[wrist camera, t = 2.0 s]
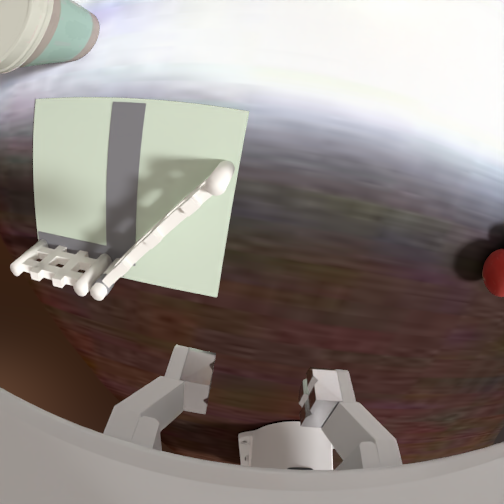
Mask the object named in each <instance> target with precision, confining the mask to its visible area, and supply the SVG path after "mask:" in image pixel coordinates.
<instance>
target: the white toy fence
mask: <svg viewBox="0 0 504 504" xmlns="http://www.w3.org/2000/svg"><path fill="white" fill-rule="evenodd" d="M234 171H235V167H234V165H233V163H232V162H230V161H226V160H225V161H222V162H220V163H219V165H218V166H217V167H216V168H215V170H214V171H213V172H212V173H211V175H210V176H209V177H208V178H207V179H205V180H204V181H203V182H202V183H201V184H199V185H198V186H197V187H196V188H195V189H194V190H193V191H192V192H191V193H190V194H189V195H188V196H186V197H185V198H184V199H183V200H182V201H181V202H180V203H179V204H177V205H176V206H175V207H174V208H172V209H171V210H170V211H169V212H168V213H167V214H166V215H165V216H164V217H163V218H162V219H161V220H160V221H159V222H158V223H157V224H155V225H154V226H153V227H152V228H151V229H150V230H149V231H148V232H147V233H146V234H145V235H143V236H142V237H141V238H140V239H139V240H138V241H137V242H136V243H135V244H134V245H133V246H132V247H131V248H130V249H129V250H128V251H127V252H126V253H125V254H124V255H123V256H122V257H121V258H116V259H115V260H114V261H113V262H112V263H111V265H110V266H109V267H108V268H107V269H106V271H105V272H104V273H103V274H101V275H100V276H99V278H98V279H97V280H96V281H95V282H94V284H93V287H92V288H91V289H90V293H91V296H92V297H93V298H94V299H96V300H103V298H104V297H105V296H107V294H108V293H109V292H110V290H111V289H112V287H113V286H114V283H115V282H116V281H117V280H118V279H119V278H120V277H122V276H123V275H124V274H125V273H127V272H128V271H129V270H130V268H131V267H132V266H133V265H134V264H135V263H136V262H137V261H138V260H139V259H140V258H141V257H142V256H143V255H144V254H146V253H147V252H148V251H149V250H150V249H153V248H154V247H155V246H156V245H157V244H158V243H159V242H161V240H162V239H163V237H164V236H166V235H167V234H168V233H169V232H170V231H171V230H172V229H174V228H175V227H176V226H177V225H178V224H179V223H180V222H182V221H183V220H184V219H185V218H186V217H187V216H188V217H189V216H190V215H192V214H193V213H194V212H195V211H196V210H197V209H199V208H200V206H201V205H202V204H203V203H204V202H205V201H206V200H207V199H209V198H210V197H211V196H212V195H214V196H218V195H221V194H223V193H224V192H225V190H226V188H227V186H228V184H229V182H230V180H231V178H232V176H233V174H234Z"/></svg>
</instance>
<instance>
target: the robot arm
mask: <svg viewBox="0 0 504 504" xmlns="http://www.w3.org/2000/svg"><path fill="white" fill-rule="evenodd" d="M215 357H216V353H212V352H207V351H203V350H198V349H194V348H188V347H184V346H180V345H176V346H175V347H174V350H173V353H172V356H171V359H170V361H169V364H168V367H167V370H166V374H165V377H163V376H160V377H158V378H157V379H155V380H154V381H152V382H151V383H149V384H148V385H146V386H145V387H143V388H142V389H140V390H139V391H137V392H135V393H134V394H132V395H131V396H129V397H128V398H126V399H125V400H123V401H122V402H120V403H118V404H117V405H115V406H114V408H113V411H112V413H111V416H110V418H109V420H108V423H107V426H106V428H105V430H104V433H103V434H102V433H99V432H97V431H94V430H91V429H88V428H86V427H83V426H80V425H78V424H75V423H73V422H70V421H68V420H66V419H63V418H61V417H58V416H56V415H54V414H52V413H50V412H47V411H45V410H43V409H41V408H39V407H37V406H35V405H33V404H31V403H28V402H27V401H25V400H23V399H21V398H19V397H17V396H15V395H13V394H11V393H10V392H8V391H6V390H4V389H2V388H1V387H0V504H504V442H502V443H499V444H496V445H492V446H489V447H486V448H482V449H478V450H475V451H471V452H467V453H463V454H459V455H454V456H450V457H445V458H440V459H435V460H430V461H424V462H418V463H411V464H404V465H402V461H401V457H400V453H399V449H398V445H397V441H396V439H395V438H394V437H393V436H392V435H391V434H390V433H389V432H388V431H387V430H386V429H385V428H384V427H383V426H382V425H381V424H380V423H379V422H378V421H377V420H376V419H375V418H374V417H373V416H372V415H371V414H370V413H369V412H368V411H367V410H366V409H365V408H364V407H363V406H362V405H361V404H360V403H357V402H356V400H355V396H354V392H353V387H352V383H351V379H350V375H349V372H348V371H347V370H337V369H335V370H334V369H325V368H314V367H310V368H309V369H308V371H307V373H306V376H307V379H305V380H303V382H302V384H301V386H300V390H299V404H300V405H301V406H302V409H301V411H300V422H299V421H290V422H280V423H274V424H270V425H267V426H264V427H262V428H259V429H257V430H254V431H248V432H242V433H240V434H238V441H239V451H240V461H241V465H234V464H227V463H220V462H214V461H208V460H202V459H196V458H191V457H186V456H181V455H177V454H172V453H168V452H163V451H162V447H161V437H160V431H162V430H163V429H164V428H165V427H166V426H167V425H168V424H169V423H171V422H172V421H173V420H174V419H175V418H176V417H177V416H178V415H179V414H180V413H182V412H183V410H184V411H190V412H195V413H201V414H206V408H207V403H208V397H209V392H210V387H211V381H212V375H213V369H214V363H215ZM334 448H335V449H336V451H337V452H338V454H339V455H340V456H341V458H342V459H343V462H342V463H341V464H340V465H339V466H338V467H337V468H336V469H335V470H333V458H332V449H334Z"/></svg>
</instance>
